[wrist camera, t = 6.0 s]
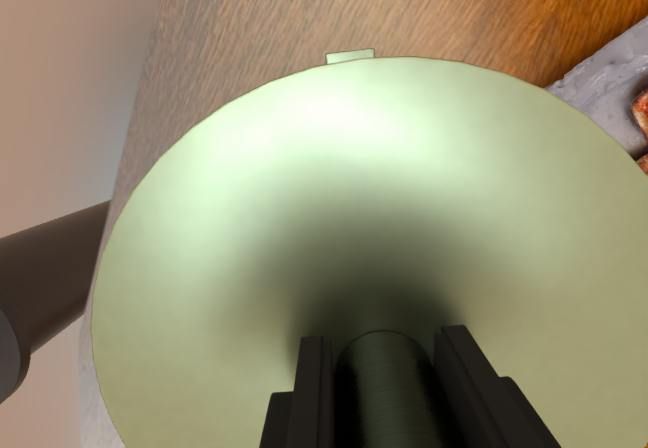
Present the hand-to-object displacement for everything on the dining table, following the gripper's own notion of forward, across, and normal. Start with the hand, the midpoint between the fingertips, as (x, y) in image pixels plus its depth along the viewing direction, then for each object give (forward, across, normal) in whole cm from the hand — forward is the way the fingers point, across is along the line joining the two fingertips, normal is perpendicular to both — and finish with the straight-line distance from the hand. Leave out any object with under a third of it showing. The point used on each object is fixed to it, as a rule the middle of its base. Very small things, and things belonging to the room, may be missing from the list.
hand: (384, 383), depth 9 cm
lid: (+1, 0, 0) cm, 1 cm away
